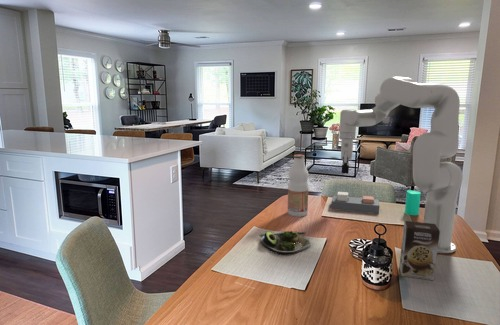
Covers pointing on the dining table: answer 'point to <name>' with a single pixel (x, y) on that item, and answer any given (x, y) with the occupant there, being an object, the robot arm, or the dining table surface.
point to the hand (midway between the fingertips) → (345, 172)
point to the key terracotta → (368, 199)
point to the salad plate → (284, 242)
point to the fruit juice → (298, 188)
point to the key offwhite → (342, 196)
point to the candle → (412, 202)
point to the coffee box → (419, 250)
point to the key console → (355, 205)
